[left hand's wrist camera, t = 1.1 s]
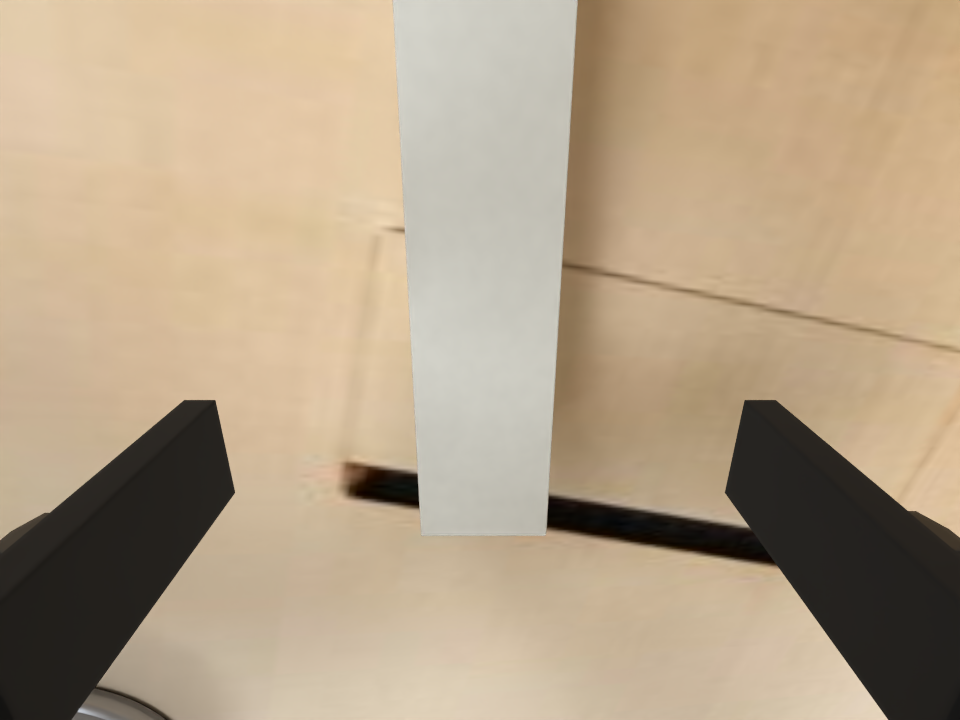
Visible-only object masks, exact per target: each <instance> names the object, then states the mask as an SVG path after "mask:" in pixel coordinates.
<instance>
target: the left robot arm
mask: <svg viewBox="0 0 960 720" xmlns="http://www.w3.org/2000/svg"><path fill="white" fill-rule="evenodd" d="M234 493H235V490H234V485H233V481H232V476H231V471H230V467H229V462H228V457H227V453H226V448H225V443H224V439H223V434H222V429H221V425H220V420H219V415H218V411H217V406H216V401H215V400H184V401H183V402H182V403H180V404H179V405H178V406H177V407H176V408H175V409H173V410H172V411H171V412H170V413H169V414H167V415H166V416H165V417H164V418H163V419H161V420H160V421H159V422H158V423H157V424H155V425H154V426H153V427H152V428H151V429H149V430H148V431H147V432H146V433H145V434H143V435H142V436H141V437H140V438H139V439H138V440H136V441H135V442H134V443H133V444H132V445H130V446H129V447H128V448H127V449H126V450H124V451H123V452H122V453H121V454H120V455H118V456H117V457H116V458H115V459H114V460H112V461H111V462H110V463H109V464H108V465H107V466H105V467H104V468H103V469H102V470H101V471H99V472H98V473H97V474H96V475H95V476H93V477H92V478H91V479H90V480H89V481H87V482H86V483H85V484H84V485H83V486H81V487H80V488H79V489H78V490H77V491H75V492H74V493H73V494H72V495H71V496H70V497H68V498H67V499H66V500H65V501H64V502H62V503H61V504H60V505H59V506H58V507H56V508H55V509H54V510H53V511H52V512H50V513H44V514H42V515H40V516H38V517H37V518H35V519H33V520H31V521H29V522H27V523H26V524H24V525H22V526H20V527H18V528H16V529H15V530H13V531H11V532H10V533H9V534H7V535H6V536H5V537H4V538H3V539H1V540H0V720H165V719H164V718H163V717H161V716H160V715H158V714H157V713H155V712H154V711H152V710H151V709H149V708H147V707H145V706H143V705H141V704H139V703H137V702H135V701H133V700H131V699H128V698H126V697H123V696H120V695H117V694H114V693H111V692H107V691H103V690H99V689H94V688H95V687H96V685H97V684H98V682H99V681H100V680H101V678H102V677H103V675H104V674H105V673H106V671H107V670H108V668H109V667H110V666H111V664H112V663H113V662H114V660H115V659H116V657H117V656H118V655H119V653H120V652H121V650H122V649H123V648H124V646H125V645H126V643H127V642H128V641H129V639H130V638H131V637H132V635H133V634H134V632H135V631H136V630H137V628H138V627H139V625H140V624H141V623H142V621H143V620H144V618H145V617H146V616H147V614H148V613H149V612H150V610H151V609H152V607H153V606H154V605H155V603H156V602H157V600H158V599H159V598H160V596H161V595H162V593H163V592H164V591H165V589H166V588H167V587H168V585H169V584H170V582H171V581H172V580H173V578H174V577H175V575H176V574H177V573H178V571H179V570H180V568H181V567H182V566H183V564H184V563H185V562H186V560H187V559H188V557H189V556H190V555H191V553H192V552H193V550H194V549H195V548H196V546H197V545H198V543H199V542H200V541H201V539H202V538H203V536H204V535H205V534H206V532H207V531H208V530H209V528H210V527H211V525H212V524H213V523H214V521H215V520H216V518H217V517H218V516H219V514H220V513H221V511H222V510H223V509H224V507H225V506H226V505H227V503H228V502H229V500H230V499H231V498H232V496H233V495H234ZM725 493H726V495H727V496H728V498H729V499H730V500H731V502H732V503H733V505H734V506H735V507H736V509H737V510H738V511H739V513H740V514H741V516H742V517H743V518H744V520H745V521H746V523H747V524H748V525H749V527H750V528H751V530H752V531H753V532H754V534H755V535H756V536H757V538H758V539H759V541H760V542H761V543H762V545H763V546H764V548H765V549H766V550H767V552H768V553H769V555H770V556H771V557H772V559H773V560H774V562H775V563H776V564H777V566H778V567H779V568H780V570H781V571H782V573H783V574H784V575H785V577H786V578H787V580H788V581H789V582H790V584H791V585H792V587H793V588H794V589H795V591H796V592H797V593H798V595H799V596H800V598H801V599H802V600H803V602H804V603H805V605H806V606H807V607H808V609H809V610H810V612H811V613H812V614H813V616H814V617H815V618H816V620H817V621H818V623H819V624H820V625H821V627H822V628H823V630H824V631H825V632H826V634H827V635H828V637H829V638H830V639H831V641H832V642H833V643H834V645H835V646H836V648H837V649H838V650H839V652H840V653H841V655H842V656H843V657H844V659H845V660H846V662H847V663H848V664H849V666H850V667H851V668H852V670H853V671H854V673H855V674H856V675H857V677H858V678H859V680H860V681H861V682H862V684H863V685H864V687H865V688H866V689H867V691H868V692H869V693H870V695H871V696H872V698H873V699H874V700H875V702H876V703H877V705H878V706H879V707H880V709H881V710H882V712H883V713H884V714H885V716H886V717H887V718H888V720H960V538H959V537H958V536H957V535H956V534H954V533H953V532H952V531H951V530H949V529H948V528H946V527H944V526H942V525H940V524H938V523H937V522H935V521H933V520H931V519H929V518H927V517H926V516H924V515H922V514H920V513H918V512H916V511H907V510H906V509H905V508H904V507H902V506H901V505H900V504H899V503H898V502H896V501H895V500H894V499H893V498H892V497H890V496H889V495H888V494H887V493H886V492H885V491H883V490H882V489H881V488H880V487H879V486H877V485H876V484H875V483H874V482H873V481H871V480H870V479H869V478H868V477H867V476H865V475H864V474H863V473H862V472H861V471H859V470H858V469H857V468H856V467H855V466H853V465H852V464H851V463H850V462H849V461H848V460H846V459H845V458H844V457H843V456H842V455H840V454H839V453H838V452H837V451H836V450H834V449H833V448H832V447H831V446H830V445H828V444H827V443H826V442H825V441H824V440H822V439H821V438H820V437H819V436H818V435H817V434H815V433H814V432H813V431H812V430H811V429H809V428H808V427H807V426H806V425H805V424H803V423H802V422H801V421H800V420H799V419H797V418H796V417H795V416H794V415H793V414H791V413H790V412H789V411H788V410H787V409H785V408H784V407H783V406H782V405H781V404H780V403H778V402H777V401H776V400H745V401H744V406H743V411H742V415H741V420H740V425H739V429H738V434H737V439H736V443H735V448H734V453H733V457H732V462H731V467H730V471H729V476H728V481H727V485H726V490H725Z"/></svg>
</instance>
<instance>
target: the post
mask: <svg viewBox="0 0 960 720" xmlns="http://www.w3.org/2000/svg"><path fill="white" fill-rule="evenodd" d="M577 6H578V0H393V16H394V35H395V53H396V72H397V91H398V110H399V129H400V148H401V166H402V185H403V204H404V223H405V242H406V260H407V279H408V298H409V317H410V336H411V355H412V373H413V392H414V411H415V430H416V449H417V467H418V486H419V505H420V524H421V536H545V535H546V527H547V511H548V494H549V477H550V460H551V443H552V427H553V410H554V393H555V376H556V359H557V342H558V326H559V309H560V292H561V275H562V258H563V242H564V225H565V208H566V191H567V174H568V157H569V141H570V124H571V107H572V90H573V73H574V57H575V40H576V23H577Z"/></svg>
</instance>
